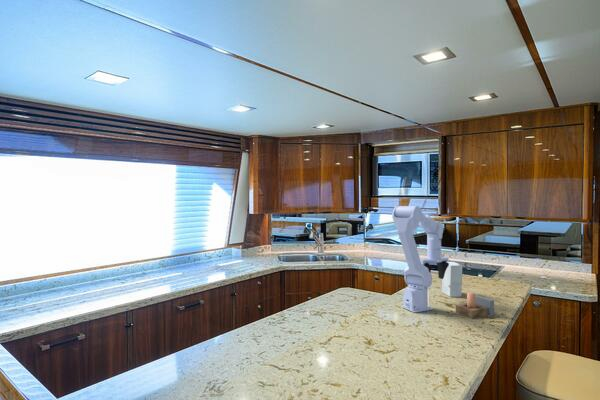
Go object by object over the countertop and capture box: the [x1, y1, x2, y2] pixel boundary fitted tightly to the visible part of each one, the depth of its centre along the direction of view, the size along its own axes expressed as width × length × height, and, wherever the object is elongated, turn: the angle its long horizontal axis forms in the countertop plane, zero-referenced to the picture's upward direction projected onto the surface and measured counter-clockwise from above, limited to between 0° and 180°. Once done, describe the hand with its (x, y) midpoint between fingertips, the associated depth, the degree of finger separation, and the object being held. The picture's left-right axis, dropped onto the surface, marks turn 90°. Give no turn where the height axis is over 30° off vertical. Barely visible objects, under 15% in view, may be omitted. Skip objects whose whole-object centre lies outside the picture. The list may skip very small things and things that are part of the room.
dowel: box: [466, 292, 476, 309], centre depth 141 cm, size 3×3×8 cm
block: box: [455, 302, 489, 319], centre depth 141 cm, size 8×8×3 cm
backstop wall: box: [475, 294, 495, 317], centre depth 143 cm, size 2×10×6 cm, turn 22°
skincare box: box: [441, 261, 463, 298], centre depth 168 cm, size 8×6×15 cm
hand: (434, 279), depth 159 cm, fingers open, 7 cm apart
